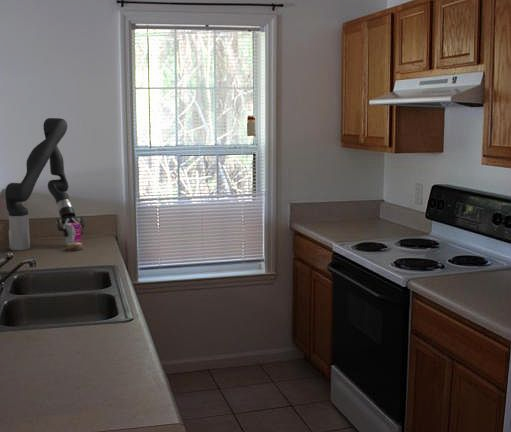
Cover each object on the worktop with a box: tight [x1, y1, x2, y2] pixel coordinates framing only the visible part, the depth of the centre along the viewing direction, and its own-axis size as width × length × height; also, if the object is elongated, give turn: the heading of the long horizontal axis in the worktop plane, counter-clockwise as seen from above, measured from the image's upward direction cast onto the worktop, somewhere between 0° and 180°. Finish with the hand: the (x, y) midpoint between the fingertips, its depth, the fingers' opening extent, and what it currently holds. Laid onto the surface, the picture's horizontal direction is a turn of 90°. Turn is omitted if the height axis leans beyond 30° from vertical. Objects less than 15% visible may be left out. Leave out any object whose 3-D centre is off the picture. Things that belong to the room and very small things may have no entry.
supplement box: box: [65, 222, 82, 244], centre depth 348 cm, size 6×6×12 cm
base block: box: [65, 241, 83, 252], centre depth 339 cm, size 8×8×3 cm
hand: (74, 235), depth 347 cm, fingers closed on supplement box, 7 cm apart
